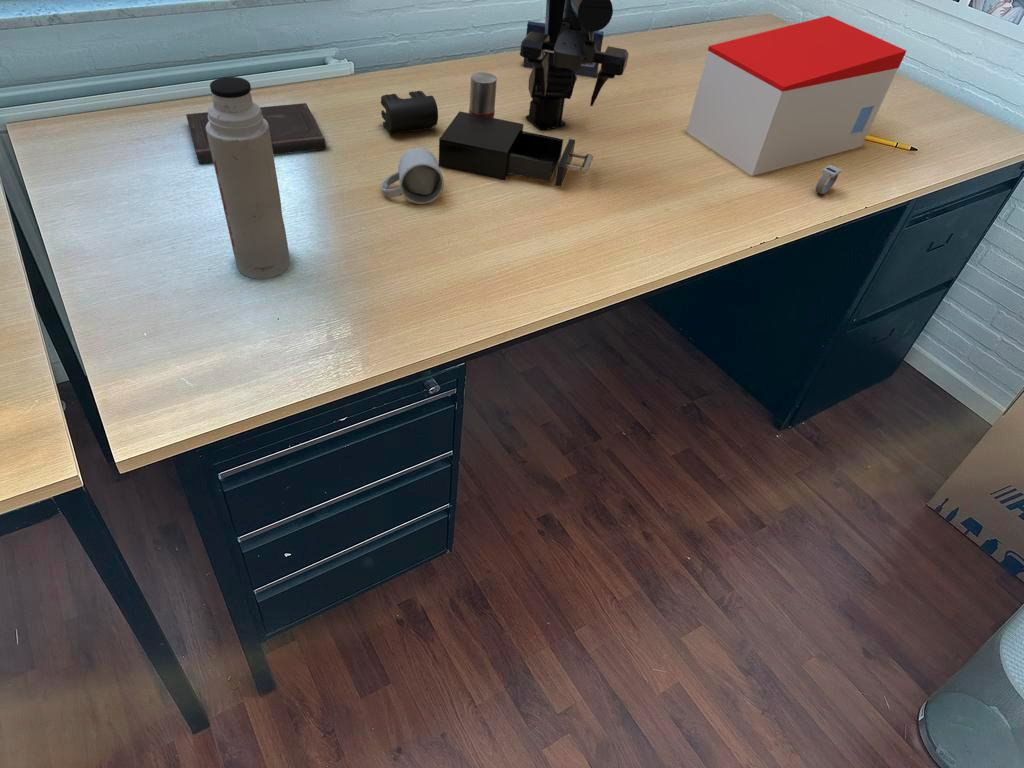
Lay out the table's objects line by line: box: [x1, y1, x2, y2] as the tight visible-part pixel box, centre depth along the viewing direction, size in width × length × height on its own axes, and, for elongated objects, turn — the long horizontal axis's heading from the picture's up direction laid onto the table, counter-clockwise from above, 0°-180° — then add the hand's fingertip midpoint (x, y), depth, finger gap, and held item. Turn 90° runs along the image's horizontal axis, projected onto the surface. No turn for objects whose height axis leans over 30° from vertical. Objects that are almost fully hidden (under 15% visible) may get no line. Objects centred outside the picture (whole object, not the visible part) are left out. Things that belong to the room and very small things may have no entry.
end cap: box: [380, 90, 439, 135], centre depth 144 cm, size 10×7×7 cm
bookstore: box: [685, 15, 907, 177], centre depth 151 cm, size 21×35×21 cm, turn 121°
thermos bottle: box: [206, 76, 291, 280], centre depth 101 cm, size 8×8×28 cm
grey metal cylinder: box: [468, 71, 498, 118], centre depth 147 cm, size 5×5×10 cm
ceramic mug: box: [380, 147, 445, 205], centre depth 126 cm, size 11×8×8 cm
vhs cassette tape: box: [522, 20, 604, 78], centre depth 172 cm, size 18×3×10 cm, turn 80°
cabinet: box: [438, 111, 524, 181], centre depth 138 cm, size 13×13×6 cm
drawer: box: [506, 130, 594, 188], centre depth 137 cm, size 16×12×4 cm
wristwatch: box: [815, 164, 843, 195], centre depth 141 cm, size 6×3×5 cm, turn 135°
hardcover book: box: [185, 102, 327, 164], centre depth 137 cm, size 16×23×2 cm
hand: (567, 100), depth 133 cm, fingers open, 9 cm apart
